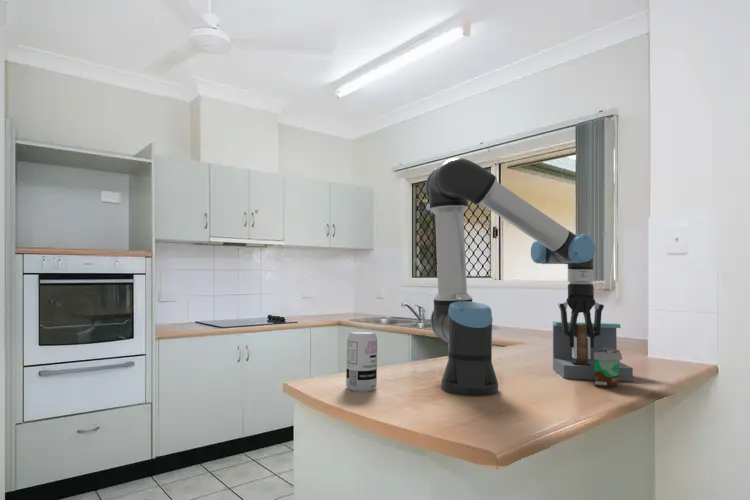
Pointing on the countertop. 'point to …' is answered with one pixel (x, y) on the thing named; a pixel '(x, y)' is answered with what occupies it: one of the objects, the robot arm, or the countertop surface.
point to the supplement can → (361, 361)
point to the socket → (606, 339)
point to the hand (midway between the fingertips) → (581, 357)
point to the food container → (607, 368)
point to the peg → (581, 344)
